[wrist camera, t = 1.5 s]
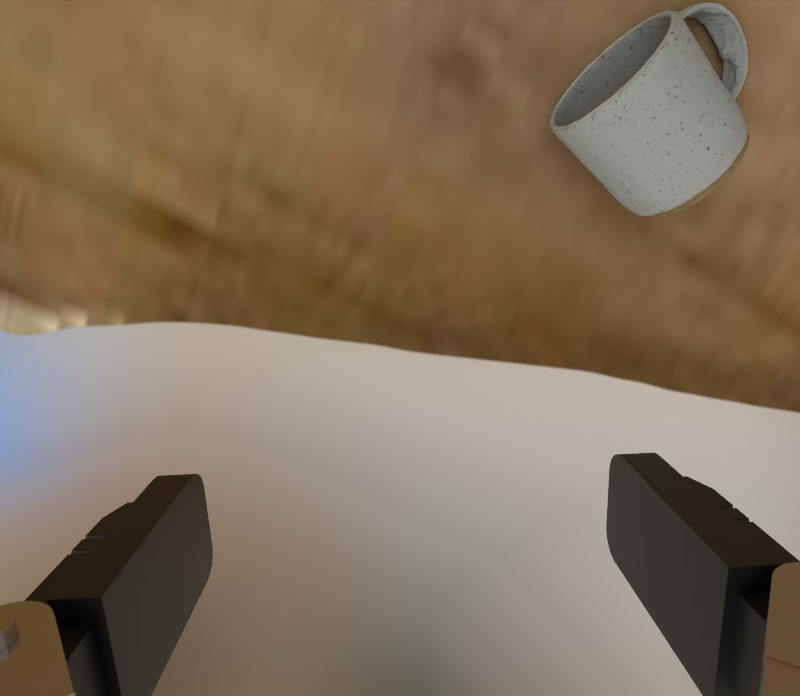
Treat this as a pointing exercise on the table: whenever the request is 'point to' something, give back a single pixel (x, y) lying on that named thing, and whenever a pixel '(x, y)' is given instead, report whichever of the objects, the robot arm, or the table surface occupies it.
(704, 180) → the ceramic mug
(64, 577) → the robot arm
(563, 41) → the table surface
